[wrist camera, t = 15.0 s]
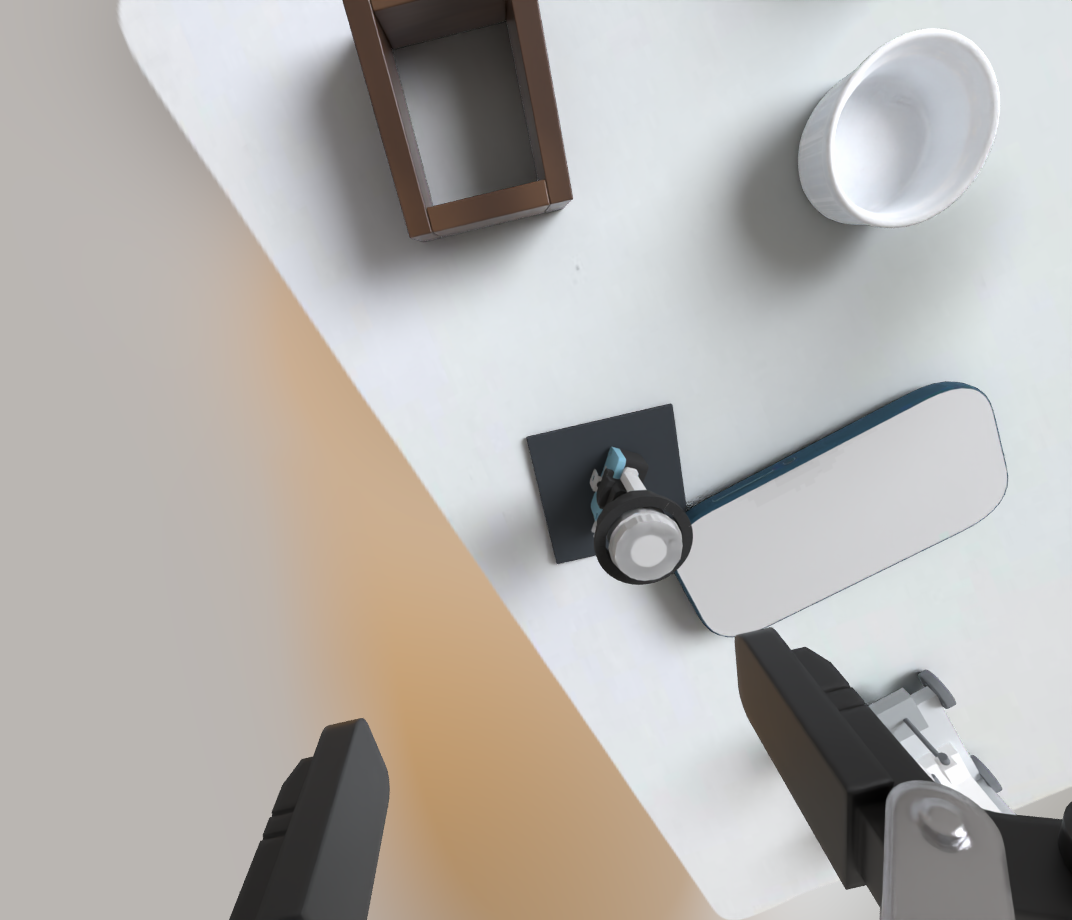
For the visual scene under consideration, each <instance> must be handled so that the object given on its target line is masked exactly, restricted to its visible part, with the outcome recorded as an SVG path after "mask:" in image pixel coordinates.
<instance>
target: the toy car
mask: <svg viewBox="0 0 1072 920" xmlns="http://www.w3.org/2000/svg"><path fill="white" fill-rule="evenodd" d="M918 678H919V680H920V681H921V683H922V684H923V686H924V688H923V689H921V690H919V691H917V692H915V693H913V694H911V695H910V694H909V693H908V692H907V691H906V690H905V689H904V688H903V687H902V688H901V689H899V690H897V691H895V692H893V693H891V694H889V695H888V696H886V697H884V698H882V699H880V700H878V701H876V702H875V703H873V704H871V705H869V707H870V709H871V710H872V711H873V712H874V713H875V714H876V716H877V717H878V718H879V719H880V720H881V721H882V723H883V724H884V725H885V726H886V727H887V728H888V729H889V731H890V732H891V733H892V734H893V735H894V736H895V738H896V739H897V740H898V741H899V742H900V743H901V745H902V746H903V747H904V748H905V749H906V750H907V752H908V753H909V754H910V755H911V756H912V757H913V758H914V760H915V761H916V762H917V763H918V764H919V765H920V767H921V768H922V769H923V770H924V771H925V772H926V773H927V774H928V776H929V777H930V778H931V779H932V780H933V781H935V782H936V783H939V784H942V785H944V786H947V787H950V788H952V789H954V790H956V791H958V792H960V793H962V794H963V795H965V796H967V797H968V798H970V799H971V800H972V801H974V802H975V803H976V804H978V805H979V806H980V807H981V808H982V809H985V810H989V811H993V812H998V813H1004V814H1013V815H1017V814H1016V813H1015V812H1014V811H1013V810H1012V809H1011V808H1010V807H1009V806H1008V805H1007V804H1006V803H1005V802H1004V801H1003V800H1002V798H1001V797H1000V796H999V795H998V794H997V793H998V792H1000V791H1002V787H1001V785H1000V784H999V782H998V781H997V779H996V778H995V777H994V775H993V774H992V773H991V772H990V771H989V769H988V768H987V767H986V766H985V765H984V764H983V763H982V762H981V761H980V760H979V759H978V758H977V757H975V756H974V755H971V756H970V755H969V753H968V751H967V750H966V748H965V746H964V744H963V742H962V740H961V739H960V737H959V735H958V733H957V731H956V730H955V728H954V726H953V724H952V722H951V720H950V719H949V717H948V715H947V713H946V711H945V710H944V708H946V709H948V708H950V707H952V706H954V705H956V701H955V699H954V697H953V696H952V694H951V693H950V692H949V690H948V689H947V688H946V687H945V685H944V684H943V683H942V682H941V681H940V680H939V679H938V678H937V677H936V676H935V675H934V674H933V673H931V672H930V671H928V670H924V671H922V672H921V673H919V674H918ZM943 707H944V708H943Z"/></svg>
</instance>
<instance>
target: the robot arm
mask: <svg viewBox="0 0 1072 920" xmlns="http://www.w3.org/2000/svg"><path fill="white" fill-rule="evenodd" d="M735 652H736V664H737V676H738V688H739V694H740V698H741V702H742V705H743V708H744V710H745V713H746V715H747V717H748V719H749V721H750V723H751V725H752V726H753V728H754V730H755V732H756V733H757V735H758V737H759V739H760V740H761V742H762V744H763V746H764V747H765V749H766V751H767V753H768V754H769V756H770V758H771V760H772V761H773V763H774V765H775V767H776V768H777V770H778V772H779V774H780V775H781V777H782V779H783V781H784V782H785V784H786V786H787V788H788V789H789V791H790V793H791V795H792V796H793V798H794V800H795V802H796V803H797V805H798V807H799V809H800V810H801V812H802V814H803V815H804V817H805V819H806V821H807V822H808V824H809V826H810V828H811V829H812V831H813V833H814V835H815V836H816V838H817V840H818V842H819V843H820V845H821V847H822V849H823V850H824V852H825V854H826V856H827V857H828V859H829V861H830V863H831V864H832V866H833V868H834V870H835V871H836V873H837V875H838V877H839V878H840V880H841V882H842V884H843V885H844V887H845V889H846V890H847V889H851V888H856V887H860V886H865V885H867V887H868V888H869V890H870V892H871V893H872V895H873V896H874V898H875V900H876V902H877V903H878V905H879V907H880V920H1072V802H1071V803H1070V804H1069V805H1068V806H1067V807H1066V809H1065V812H1064V816H1063V820H1062V819H1052V818H1042V817H1033V816H1022V815H1013V814H1004V813H998V812H993V811H989V810H985V809H982V808H981V807H980V806H979V805H978V804H976V803H975V802H974V801H972V800H971V799H970V798H968V797H967V796H965V795H963V794H962V793H960V792H958V791H956V790H954V789H952V788H950V787H947V786H944V785H942V784H939V783H936V782H935V781H933V780H932V779H931V778H930V777H929V776H928V774H927V773H926V772H925V771H924V770H923V769H922V768H921V767H920V765H919V764H918V763H917V762H916V761H915V760H914V758H913V757H912V756H911V755H910V754H909V753H908V752H907V750H906V749H905V748H904V747H903V746H902V745H901V743H900V742H899V741H898V740H897V739H896V738H895V736H894V735H893V734H892V733H891V732H890V731H889V729H888V728H887V727H886V726H885V725H884V724H883V723H882V721H881V720H880V719H879V718H878V717H877V716H876V714H875V713H874V712H873V711H872V710H871V709H870V707H869V706H868V705H865V704H864V700H863V699H862V698H861V697H860V696H859V695H858V693H857V692H856V691H855V690H854V689H853V688H852V687H851V688H850V686H849V683H848V682H847V681H846V680H845V678H844V677H843V676H842V675H841V674H840V673H839V671H838V670H837V669H836V668H835V667H834V666H833V664H832V663H831V662H829V661H828V660H826V659H824V658H823V657H821V656H820V655H818V654H816V653H815V652H813V651H812V650H810V649H808V648H807V647H802V648H798V649H794V650H791V649H790V648H789V647H788V645H787V644H786V643H785V642H784V640H783V639H782V638H781V637H780V635H779V634H778V633H777V632H776V630H774V629H773V628H771V627H769V628H764V629H760V630H755V631H751V632H747V633H742V634H738V635H736V636H735ZM389 791H390V788H389V777H388V771H387V768H386V765H385V763H384V761H383V758H382V756H381V754H380V751H379V749H378V746H377V744H376V742H375V740H374V737H373V735H372V733H371V730H370V728H369V725H368V723H367V722H366V720H365V719H363V718H360V719H355V720H351V721H346V722H342V723H337V724H333V725H329V726H326V727H325V728H324V730H323V732H322V734H321V736H320V739H319V742H318V745H317V747H316V750H315V753H314V756H313V757H309V758H305V759H302V760H301V761H300V762H299V764H298V765H297V766H296V768H295V769H294V770H293V772H292V773H291V774H290V776H289V777H288V778H287V780H286V781H285V782H284V784H283V785H282V787H281V790H280V793H279V795H278V798H277V800H276V803H275V805H274V808H273V810H272V817H270V818H269V820H268V823H267V826H266V828H265V831H264V833H263V840H262V841H260V843H259V846H258V849H257V851H256V853H255V856H254V858H253V861H252V863H251V866H250V868H249V871H248V874H247V876H246V878H245V881H244V884H243V886H242V889H241V891H240V894H239V896H238V899H237V901H236V904H235V906H234V909H233V911H232V914H231V916H230V919H229V920H367V916H368V910H369V905H370V900H371V895H372V889H373V884H374V878H375V873H376V867H377V862H378V856H379V851H380V846H381V841H382V835H383V830H384V824H385V819H386V814H387V808H388V802H389Z"/></svg>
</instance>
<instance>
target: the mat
mask: <svg viewBox="0 0 1072 920" xmlns="http://www.w3.org/2000/svg"><path fill="white" fill-rule="evenodd" d="M527 442H528V446H529V450H530V455H531V459H532V463H533V467H534V471H535V475H536V480H537V484H538V488H539V492H540V496H541V500H542V504H543V509H544V513H545V517H546V521H547V525H548V529H549V533H550V538H551V542H552V546H553V550H554V554H555V558H556V563H557V564H560V563H564V562H569V561H573V560H577V559H582V558H586V557H591V556H595V555H596V553H595V550H594V537H593V536H594V532H592V531H591V530H592V527H593V524H594V522H595V519H594V515H593V512H592V510H591V502H592V499H593V496H594V493H595V491H593V489H592V488H591V485H590V479H591V476H592V474H593V471H594V469H596V471H597V473H598V476H600V477H601V474H602V471H603V468H604V465H605V462H606V460H607V457H608V453H609V450H610V448H611V447H614V448H618V449H623V450H626V451H630V452H634V453H638V454H640V455H641V456H642V457H643V459H644V460H645V461H646V463H647V464H648V472H647V474H646V477H645V479H644V482H643V485H644V487H645V488H646V490H649V491H651V492H653V493H655V494H657V495H660V496H664V497H666V498H668V499H670V500H672V501H674V502H675V503H677V504H678V505H679V506H680V507H681V508H682V509H683V511H684V512H687V509H686V501H685V494H684V486H683V479H682V472H681V464H680V457H679V449H678V442H677V434H676V427H675V420H674V412H673V405H672V404H667V405H662V406H658V407H654V408H649V409H645V410H641V411H636V412H632V413H628V414H623V415H619V416H615V417H610V418H606V419H602V420H597V421H593V422H589V423H584V424H580V425H576V426H571V427H567V428H563V429H559V430H554V431H550V432H546V433H541V434H537V435H533V436H528V437H527ZM593 480H594V477H593ZM662 510H663V509H662ZM663 512H664V513H665V515H667V516H668V517H669V518H671V519H672V520H673V516H672V515H671V514H670V513H669V512H667V511H665V510H663ZM673 521H674V520H673ZM596 527H597V525H596ZM606 549H607V550H608V551H609V542H608V539H607V537H606Z"/></svg>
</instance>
